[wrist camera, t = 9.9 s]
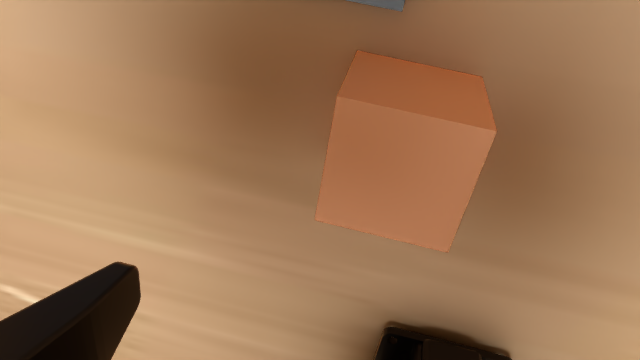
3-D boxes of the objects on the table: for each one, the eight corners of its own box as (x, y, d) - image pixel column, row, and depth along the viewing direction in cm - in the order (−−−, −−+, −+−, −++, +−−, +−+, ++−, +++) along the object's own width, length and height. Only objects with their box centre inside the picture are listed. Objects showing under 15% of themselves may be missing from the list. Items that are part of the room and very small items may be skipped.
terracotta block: (444, 180, 19) (448, 252, 15) (336, 155, 19) (314, 220, 16) (482, 75, 17) (497, 131, 13) (357, 49, 17) (337, 96, 13)
